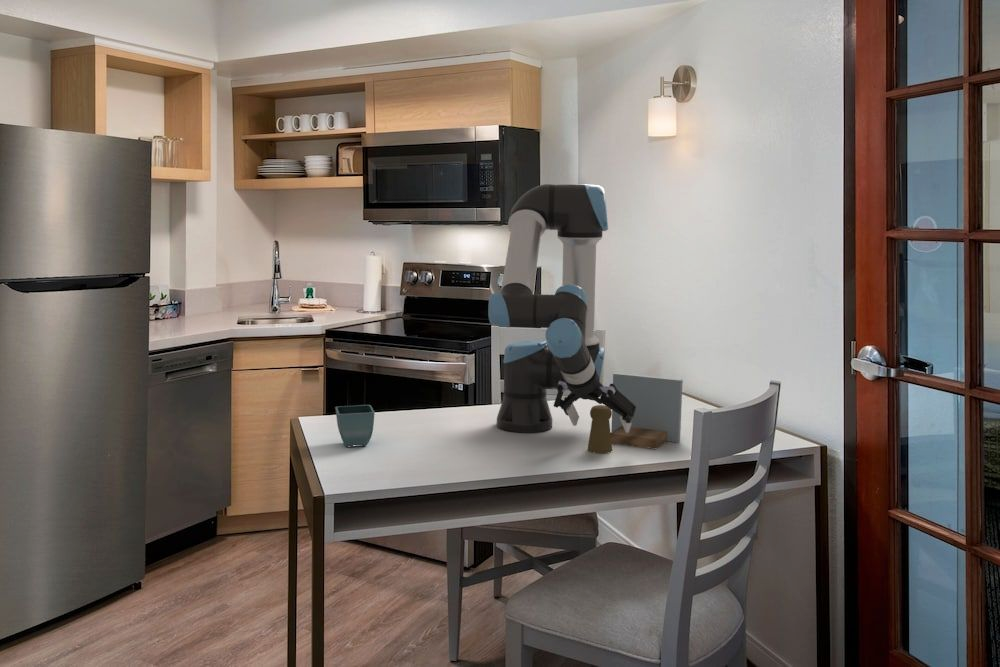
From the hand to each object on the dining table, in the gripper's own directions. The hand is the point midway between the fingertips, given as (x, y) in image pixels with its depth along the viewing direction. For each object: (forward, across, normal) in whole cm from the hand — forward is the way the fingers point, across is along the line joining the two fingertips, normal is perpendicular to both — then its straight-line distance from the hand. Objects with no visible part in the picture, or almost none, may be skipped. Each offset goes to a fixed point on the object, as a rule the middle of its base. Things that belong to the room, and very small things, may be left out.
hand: (602, 424), depth 207 cm
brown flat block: (+13, +5, +4) cm, 15 cm away
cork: (+4, 0, -5) cm, 7 cm away
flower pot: (-14, -54, -24) cm, 61 cm away
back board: (+17, +5, +8) cm, 19 cm away
